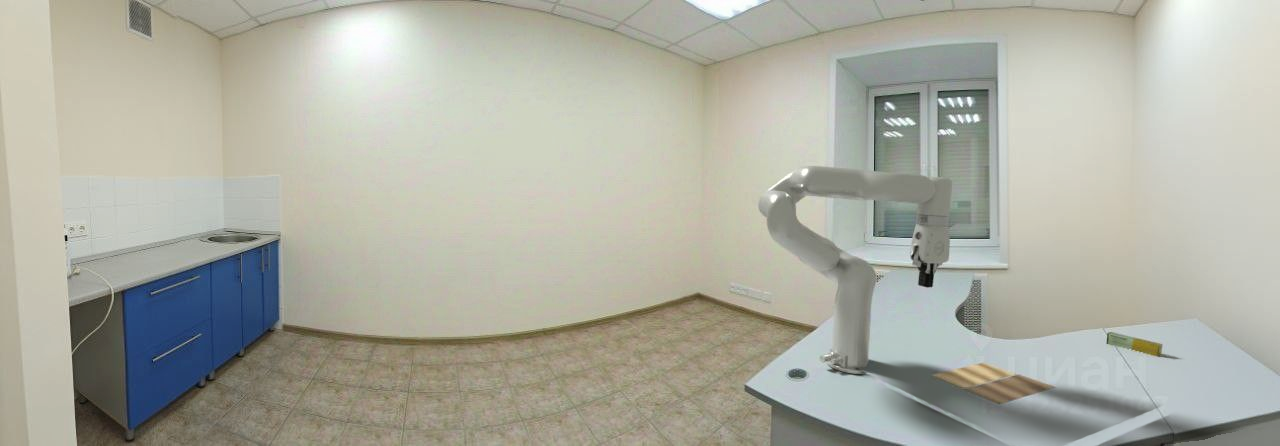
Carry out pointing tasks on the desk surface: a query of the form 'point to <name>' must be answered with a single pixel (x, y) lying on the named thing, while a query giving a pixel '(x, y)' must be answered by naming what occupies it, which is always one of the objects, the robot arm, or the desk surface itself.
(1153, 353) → the medication box
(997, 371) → the oak plank
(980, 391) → the walnut board
